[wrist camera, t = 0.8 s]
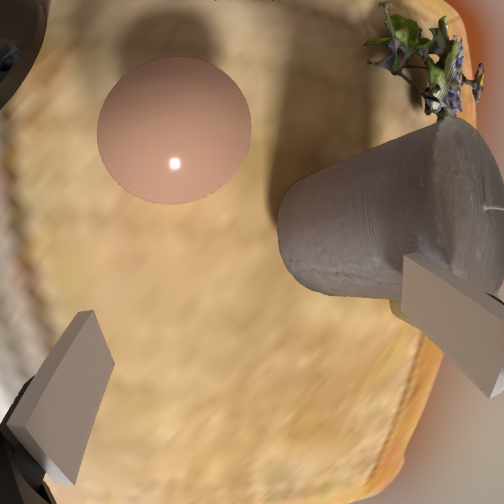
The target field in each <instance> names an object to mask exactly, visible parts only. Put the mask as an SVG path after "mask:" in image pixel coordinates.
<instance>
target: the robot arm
mask: <svg viewBox="0 0 504 504" xmlns="http://www.w3.org/2000/svg"><path fill="white" fill-rule="evenodd" d="M45 25H46V15H45V9H44V6H43V4H42V2H41V0H0V109H1V108H2V107H3V106H4V105H5V104H6V103H7V102H8V101H9V99H10V98H11V97H12V96H13V95H14V93H15V92H16V91H17V89H18V88H19V87H20V85H21V84H22V82H23V81H24V79H25V77H26V76H27V74H28V73H29V71H30V69H31V67H32V65H33V63H34V61H35V59H36V57H37V55H38V52H39V50H40V47H41V44H42V41H43V37H44V33H45ZM401 312H402V313H403V314H404V315H405V316H407V317H408V318H409V319H410V320H411V321H412V322H413V323H414V324H415V325H416V326H417V327H418V328H419V329H420V330H421V331H422V332H423V333H424V334H425V335H426V336H427V337H428V338H429V339H430V340H431V341H432V342H434V343H435V344H436V345H437V346H438V347H439V348H440V349H441V350H442V351H443V352H444V353H445V354H446V355H447V356H448V357H449V358H450V359H451V360H452V361H453V362H454V363H455V364H456V365H457V366H458V367H459V368H460V369H461V370H462V372H463V373H465V375H466V376H467V377H468V378H469V379H470V380H471V381H472V382H473V383H474V384H475V385H476V386H477V387H478V388H479V389H480V390H481V391H482V392H483V393H484V394H485V395H486V396H487V398H488V399H490V398H492V397H494V396H496V395H497V394H499V393H500V392H502V391H503V390H504V303H503V302H502V301H501V300H499V299H498V298H497V297H495V296H493V295H491V294H488V293H485V292H483V291H481V290H480V289H478V288H477V287H475V286H473V285H472V284H470V283H469V282H467V281H465V280H464V279H462V278H461V277H459V276H457V275H456V274H454V273H452V272H451V271H449V270H447V269H446V268H444V267H442V266H441V265H439V264H437V263H436V262H434V261H432V260H431V259H429V258H427V257H425V256H424V255H422V254H420V253H418V252H415V253H410V254H406V255H404V257H403V282H402V299H401ZM114 365H115V362H114V360H113V358H112V356H111V353H110V351H109V348H108V346H107V344H106V341H105V339H104V336H103V334H102V331H101V329H100V326H99V323H98V321H97V318H96V315H95V313H94V310H89V311H82V312H78V313H77V314H76V316H75V317H74V319H73V320H72V321H71V323H70V324H69V326H68V327H67V328H66V330H65V331H64V333H63V334H62V336H61V337H60V339H59V340H58V341H57V343H56V344H55V346H54V347H53V349H52V350H51V352H50V353H49V355H48V356H47V358H46V359H45V361H44V362H43V364H42V365H41V367H40V369H39V370H38V372H37V373H36V375H35V376H33V377H32V378H31V379H30V380H28V381H27V382H26V383H25V384H24V385H23V387H22V389H21V390H20V392H19V393H18V395H19V396H17V397H16V398H15V400H14V404H13V403H12V405H11V407H10V408H9V410H8V412H7V413H6V415H5V417H4V419H3V420H2V422H1V424H0V504H57V503H56V501H55V499H54V497H53V495H52V493H51V491H50V489H49V487H48V485H47V484H46V483H45V482H44V481H43V478H44V475H45V473H47V474H48V476H49V477H50V478H51V479H52V480H53V481H54V482H55V483H59V484H66V485H72V486H75V483H76V479H77V475H78V472H79V468H80V465H81V462H82V458H83V455H84V452H85V449H86V445H87V442H88V439H89V436H90V433H91V430H92V427H93V424H94V421H95V418H96V415H97V412H98V409H99V406H100V403H101V401H102V398H103V395H104V392H105V389H106V387H107V384H108V381H109V379H110V376H111V373H112V371H113V368H114Z"/></svg>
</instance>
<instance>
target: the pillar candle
mask: <svg viewBox="0 0 504 504" xmlns="http://www.w3.org/2000/svg"><path fill="white" fill-rule="evenodd" d="M277 233H278V243H279V250H280V254H281V257H282V259H283V262H284V263H285V265H286V268H287V269H288V271H289V272H290V273H291V274H292V275H293V276H294V278H295V279H296V280H297V281H298V282H299V283H300V284H302V285H303V286H305V287H306V288H308V289H310V290H312V291H316V292H320V293H323V294H325V295H328V296H344V297H346V296H350V297H362V298H374V299H395V300H401V299H402V282H403V257H404V255H406V254H410V253H415V252H418V253H420V254H422V255H424V256H425V257H427V258H429V259H431V260H432V261H434V262H436V263H437V264H439V265H441V266H442V267H444V268H446V269H447V270H449V271H451V272H452V273H454V274H456V275H457V276H459V277H461V278H462V279H464V280H465V281H467V282H469V283H470V284H472V285H473V286H475V287H477V288H478V289H480V290H481V291H483V292H485V293H488V294H491V295H493V296H495V295H496V294H497V293H498V291H499V289H500V287H501V285H502V283H503V280H504V183H503V180H502V177H501V173H500V171H499V168H498V165H497V163H496V161H495V158H494V156H493V155H492V153H491V151H490V149H489V147H488V146H487V144H486V142H485V141H484V139H483V138H482V136H481V135H480V133H479V132H478V131H477V130H476V129H475V128H474V127H472V125H471V124H469V123H468V122H466V121H464V120H463V119H461V118H456V117H449V116H445V117H444V119H443V121H440V122H437V123H434V124H432V125H430V126H427V127H424V128H422V129H419V130H416V131H414V132H411V133H408V134H406V135H404V136H401V137H399V138H396V139H394V140H391V141H388V142H386V143H384V144H381V145H379V146H376V147H374V148H371V149H369V150H367V151H364V152H362V153H359V154H357V155H354V156H352V157H350V158H347V159H345V160H343V161H341V162H338V163H336V164H334V165H331V166H329V167H326V168H324V169H322V170H320V171H317V172H315V173H313V174H310V175H308V176H306V177H304V178H302V179H301V180H299V181H298V182H296V183H295V184H294V185H293V186H292V187H291V188H290V189H289V190H288V191H287V193H286V194H285V196H284V198H283V200H282V201H281V204H280V207H279V211H278V224H277Z"/></svg>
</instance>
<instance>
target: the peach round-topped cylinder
mask: <svg viewBox="0 0 504 504" xmlns="http://www.w3.org/2000/svg"><path fill="white" fill-rule="evenodd" d="M250 138H251V117H250V112H249V108H248V105H247V102H246V99H245V97H244V96H243V94H242V92H241V90H240V89H239V87H238V86H237V84H236V83H235V82H234V81H233V80H232V79H231V78H230V77H229V76H228V75H227V74H226V73H224V72H223V71H222V70H220V69H219V68H217V67H216V66H214V65H212V64H210V63H207V62H205V61H202V60H199V59H195V58H190V57H179V56H175V57H165V58H160V59H155V60H152V61H149V62H147V63H144V64H142V65H140V66H138V67H137V68H135V69H133V70H132V71H130V72H129V73H128V74H126V75H125V76H124V77H123V78H122V79H121V80H120V81H119V82H118V83H117V84H116V85H115V86H114V87H113V89H112V90H111V91H110V93H109V94H108V96H107V98H106V100H105V102H104V104H103V106H102V109H101V111H100V115H99V119H98V126H97V142H98V148H99V152H100V155H101V158H102V161H103V163H104V165H105V167H106V169H107V171H108V172H109V174H110V175H111V176H112V178H113V179H114V180H115V181H116V182H117V183H118V184H119V185H120V186H121V187H122V188H124V189H125V190H126V191H128V192H129V193H131V194H132V195H134V196H136V197H138V198H141V199H143V200H146V201H149V202H153V203H158V204H169V205H175V204H184V203H189V202H193V201H196V200H199V199H202V198H204V197H206V196H208V195H210V194H212V193H214V192H215V191H217V190H218V189H219V188H221V187H222V186H223V185H224V184H226V183H227V182H228V181H229V180H230V179H231V178H232V176H233V175H234V174H235V173H236V172H237V170H238V169H239V167H240V166H241V164H242V162H243V160H244V158H245V156H246V153H247V150H248V147H249V143H250Z"/></svg>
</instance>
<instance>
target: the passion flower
mask: <svg viewBox="0 0 504 504" xmlns="http://www.w3.org/2000/svg"><path fill="white" fill-rule="evenodd" d="M379 8H380V9H382V8H385V14H386V18H387V19H386V20H384V24H385V25H386V26H387V28H388V30H389V31H390V33H391V38H373V39H371V40H368V41H367V42H366V43H364V44H363V45H364V46H368V45H377V44H382V45H386V46H388V47H390V48H391V49H392V50H393V54H392V55H391V56H389V57H386V58H384V60H382V61H380V62H370V61H367V63H368V64H372V65H375V66H379V67H382V68H384V69H387V70H389V71H390V72H391V73H392V75H399V76H401V77H402V78H404V79H405V80H406V81H407V82H409V83H410V84H411V85H413V86H414V87H415V88H416V89H417V90H418V91H419V92H420V93H421V94H422V95H423V97H424V99H425V110H424V112H425V113H426V115H430V114H431V113H432V112H433V113H435V114H436V115H437V117H438V118H437V122H440V121H443V119H444V117H445V116H449V117H456V118H457V116H456V111H457V108H458V109H459V110H460V111H461V112H462V108H461V93H460V92H461V90H460V86H462V85H463V84H468V85H471V86H472V87H473V90H472V92H473V95H474V98H475V101H476V103H478V101H479V99H480V93H481V92H482V91H483V88H484V80H483V79H484V69H483V64H482V63H480V64H479V65H478V68H477V72H476V74H475V80H467V79H466V77H465V76H464V75H463V73H462V70H461V69H462V62H463V60H462V59H463V58H464V56H462V51H463V47H462V38H461V41H460V42H459V43H457V35H456V36H454V35H453V40H449V37H448V34H447V29H448V25H446V20H447V18H448V17H447V16H443V17H442V18H441V19H439V22H438V26H439V29H438V28H430V29H429V30H430V31H431V32H432V34H433V39H432V40H431V41H430V39H427V38H420V37H421V33H420V32H421V31H422V29H421V28H420V27H419V26H418V24H417V23H416V22H415V21H412V20H410V19H406V18H403V17H401V16H400V15H397V14H395V15H392V16H390V17H389V14H388V11H387V8H388V9H389V10H393V9H394V7H393V5H392V3H383V2H381V3H380V4H379ZM398 48H401V50H402V51H403V52H404V58H403V60H402V61H401V62H400V63H398V59H397V49H398ZM414 54H417V55H419V56H420V57H421V59H422V60H423V61H424V64H425V65H426V67H419V66H412V65H409V64H408V63H407V59H408V58H409V57H410V56H411V55H414ZM428 54H436V55H438V56H439V58H440V59H439V61H438V62H437V63H436V64H435V63H434V62H433V60H432V59H431V58H430V57H429V56H428ZM403 68H422V69H427V74H428V82H429V87H428V88H426V90H425V92H424V91H423V90H422V89H420V88H419V87H418V86H417V85H416V84H415V83H414V82H412V81H411V80H409V79H408V78H407V77H406V76H405V75H404V74H403V73H402V69H403ZM437 122H436V123H437Z"/></svg>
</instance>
